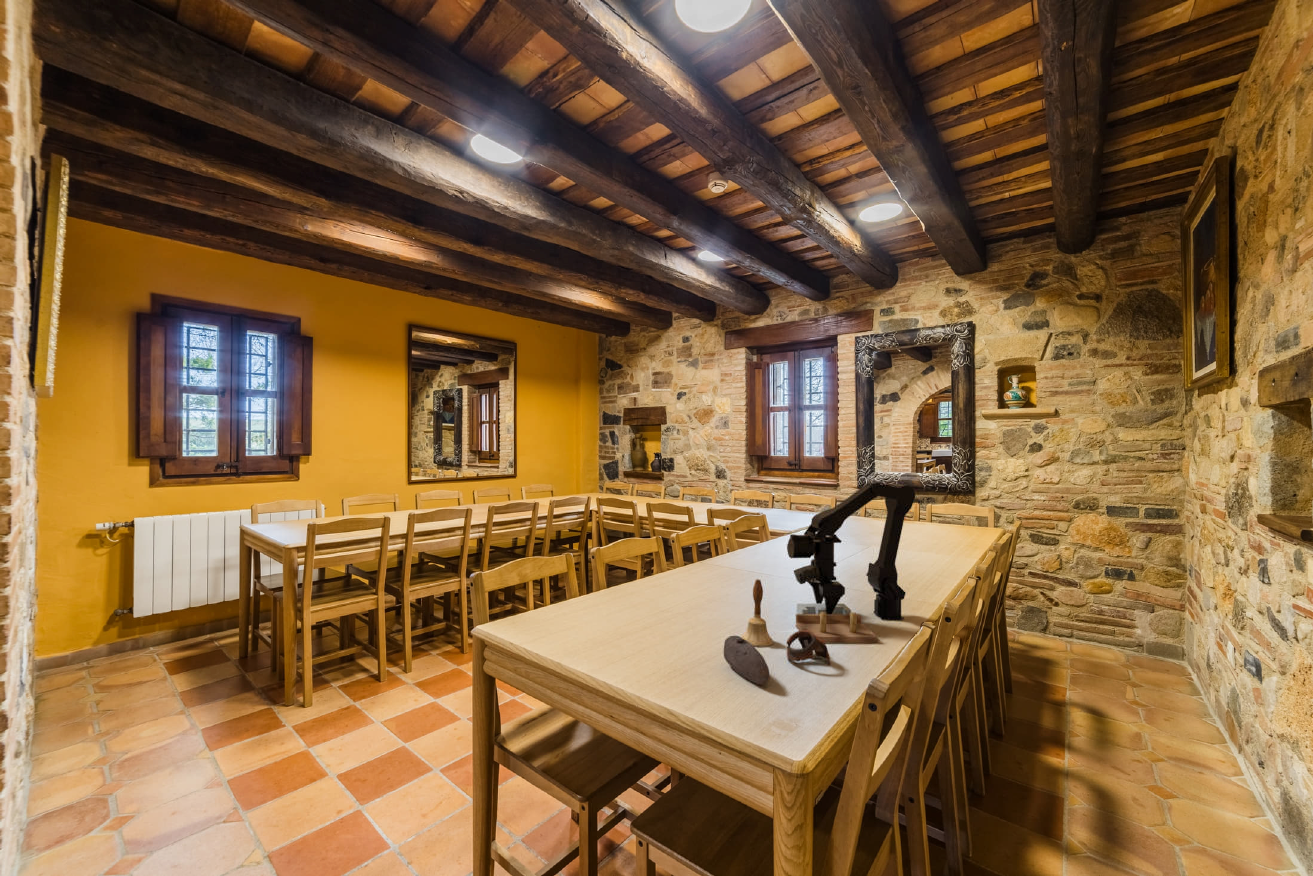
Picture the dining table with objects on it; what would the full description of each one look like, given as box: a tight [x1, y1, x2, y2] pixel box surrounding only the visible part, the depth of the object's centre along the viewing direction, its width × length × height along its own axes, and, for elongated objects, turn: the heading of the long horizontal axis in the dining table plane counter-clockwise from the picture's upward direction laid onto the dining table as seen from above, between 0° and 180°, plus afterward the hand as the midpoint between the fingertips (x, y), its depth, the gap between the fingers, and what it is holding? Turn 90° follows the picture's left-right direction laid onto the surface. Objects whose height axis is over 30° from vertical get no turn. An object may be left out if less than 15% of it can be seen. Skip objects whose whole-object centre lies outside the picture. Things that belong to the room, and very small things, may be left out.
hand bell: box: [740, 579, 774, 648], centre depth 139 cm, size 8×8×16 cm
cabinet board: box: [795, 611, 879, 644], centre depth 144 cm, size 18×12×6 cm, turn 90°
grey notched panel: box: [796, 602, 852, 614], centre depth 157 cm, size 14×6×4 cm, turn 90°
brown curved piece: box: [786, 629, 832, 666], centre depth 127 cm, size 12×10×8 cm
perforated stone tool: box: [723, 635, 771, 686], centre depth 118 cm, size 15×5×7 cm, turn 21°
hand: (823, 610), depth 157 cm, fingers open, 9 cm apart
